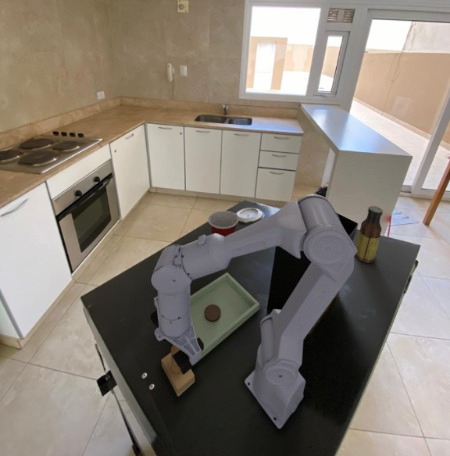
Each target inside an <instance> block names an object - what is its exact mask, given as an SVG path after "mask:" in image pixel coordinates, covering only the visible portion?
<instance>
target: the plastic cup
mask: <svg viewBox="0 0 450 456" xmlns="http://www.w3.org/2000/svg"><path fill="white" fill-rule="evenodd" d="M239 220H240V218H239V215H238V214H236V213H235V212H233V211H228V210H219V211H215V212H212V213H211V214H210V215H209V216H208V217H207V222H208V224H209V226H210V229H211V234H214V233H217V234H219V235H222V236H224V237H226V236H228V235H230V234H232V233H234V232H236V229H237V225H238V223H239Z"/></svg>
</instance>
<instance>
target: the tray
mask: <svg viewBox="0 0 450 456" xmlns="http://www.w3.org/2000/svg"><path fill="white" fill-rule="evenodd" d="M211 304H214V305H217V306H218V307H219V308H220V309H221V316H220V318H219V320H217V321H215V322H210V321H208V320H207V319H206V318H205V316H204V311H205V308H206V307H207V306H208V305H211ZM260 305H261V304H260V302H258V300H257V299H255V298H254V297H253V296H252V295H251V294H250V293H249V292H248V291H247V290H246V289H245V288H244V287H243V286H242V285H241V284H240V283H239V282H238V281H237V280H236V279H235V278H234V277H232V275H231V274H229V273H228V272H225V273H224V274H222V275H220V276H219V277H218V278H216V279H215V280H213V281H211V282H210V283H209V284H207V285H205V286H203V287H202V288H200V289H199V290H197V291H196V292H194V293H192V294H190V315H191V318H192V322H193V327H194V331H195V335H196V339H197V338H198V337H199V338H200V339H201V340H202V342H203V344H204V350H203V351H202V352H201V358H200V359H199V360H198V361H197V362H195V363H194V364H193V366H194V365H196V364H197V363H198V362H199V361H200V360H202V359H203V358H204V357H205V356H206V355H207V354H209V353H210V352H211V351H212V350H213V349H214V348H215V347H217V346H218V345H219V344H221V342H223V341H224V340H225V339H226V338H227V337H229V336H230V335H231V334H232V333H233V332H234V331H236V330H237V329H238V328H239V327H241V325H243V324H244V323H245V322H247V320H249V319H250V318H251V317H253V315H255V314H256V313H257V312H258V311H259V310H260Z"/></svg>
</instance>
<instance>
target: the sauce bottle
mask: <svg viewBox="0 0 450 456" xmlns="http://www.w3.org/2000/svg"><path fill="white" fill-rule="evenodd" d="M382 215H383V208H380V207H379V206H376V205H370V206H368V209H367V215H366V218H365V219H364V220H363V221H361V224H360V228H359V231H358V234H357V235H358V236H357V240H356V244H355V247H356V248H357V253H356V254H355V257H356V259H358V260H359V261H360V262H361V261H362V262H363V263H366V264H368V263H373V261H374V259H375V257H376V253H377V250H378V247H379V243H380V238H381V233H382V229H383V228H382V226H381V217H382Z"/></svg>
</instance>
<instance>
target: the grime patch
mask: <svg viewBox="0 0 450 456" xmlns="http://www.w3.org/2000/svg"><path fill="white" fill-rule="evenodd" d="M204 316H205V318H206V319H207V320H208V321H210V322H215V321H217V320H219V318H220V316H221V309H220V308H219V307H218V306H217V305H214V304H211V305H208V306H207V307H206V308H205V311H204Z"/></svg>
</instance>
